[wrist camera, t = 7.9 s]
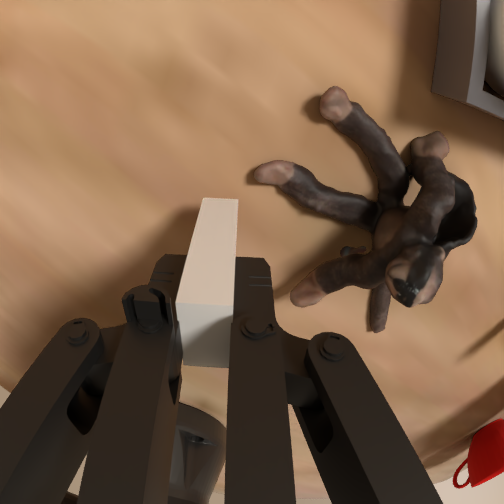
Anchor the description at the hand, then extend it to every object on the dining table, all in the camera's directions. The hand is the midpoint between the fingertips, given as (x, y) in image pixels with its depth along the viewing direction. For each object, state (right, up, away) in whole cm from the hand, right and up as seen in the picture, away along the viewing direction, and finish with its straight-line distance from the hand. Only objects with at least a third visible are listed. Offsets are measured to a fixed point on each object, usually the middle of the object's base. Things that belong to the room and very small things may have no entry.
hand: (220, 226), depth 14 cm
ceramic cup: (+44, -35, +26) cm, 62 cm away
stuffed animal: (+8, +1, +3) cm, 9 cm away
